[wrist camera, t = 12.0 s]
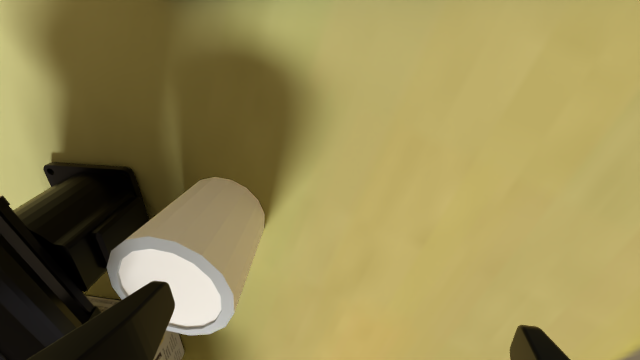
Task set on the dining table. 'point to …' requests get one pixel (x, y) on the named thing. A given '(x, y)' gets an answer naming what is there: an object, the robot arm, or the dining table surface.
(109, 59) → the dining table surface
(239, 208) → the short tan cylinder
